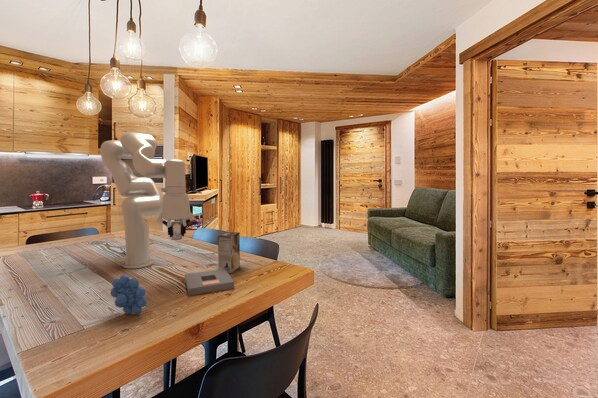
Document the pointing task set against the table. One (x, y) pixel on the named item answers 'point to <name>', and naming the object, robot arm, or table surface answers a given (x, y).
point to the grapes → (128, 294)
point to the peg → (176, 230)
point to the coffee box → (229, 251)
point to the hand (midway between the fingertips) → (176, 235)
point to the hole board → (208, 281)
